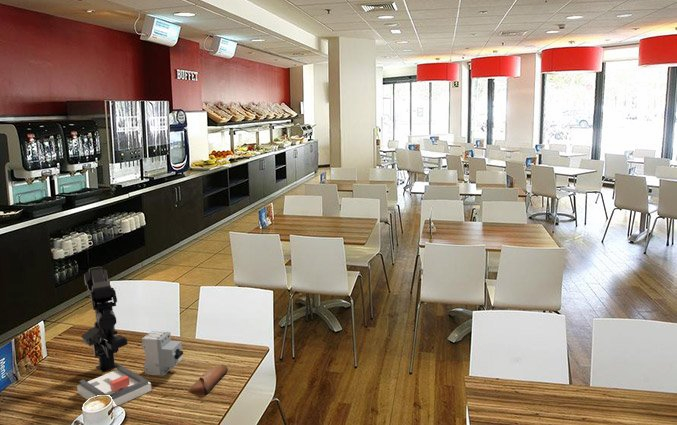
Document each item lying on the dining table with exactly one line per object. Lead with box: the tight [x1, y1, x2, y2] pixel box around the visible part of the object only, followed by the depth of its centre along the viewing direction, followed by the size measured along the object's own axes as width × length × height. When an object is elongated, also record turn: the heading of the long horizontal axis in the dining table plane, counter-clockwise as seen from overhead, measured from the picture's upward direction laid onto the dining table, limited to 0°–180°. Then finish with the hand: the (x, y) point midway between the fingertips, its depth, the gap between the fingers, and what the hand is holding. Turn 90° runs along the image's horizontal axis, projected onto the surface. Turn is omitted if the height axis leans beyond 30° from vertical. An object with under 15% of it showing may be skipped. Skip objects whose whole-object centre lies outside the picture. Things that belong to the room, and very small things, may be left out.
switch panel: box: [76, 369, 153, 406], centre depth 201 cm, size 20×18×3 cm
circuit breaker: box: [141, 330, 184, 377], centre depth 215 cm, size 8×14×15 cm, turn 78°
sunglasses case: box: [187, 364, 229, 396], centre depth 207 cm, size 18×7×7 cm
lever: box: [110, 375, 130, 391], centre depth 198 cm, size 2×6×6 cm, turn 140°
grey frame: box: [78, 364, 149, 400], centre depth 201 cm, size 20×16×2 cm
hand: (109, 358), depth 203 cm, fingers closed
